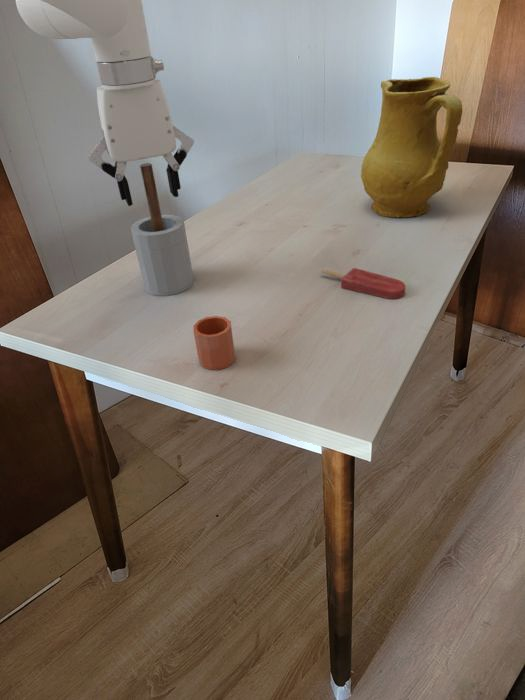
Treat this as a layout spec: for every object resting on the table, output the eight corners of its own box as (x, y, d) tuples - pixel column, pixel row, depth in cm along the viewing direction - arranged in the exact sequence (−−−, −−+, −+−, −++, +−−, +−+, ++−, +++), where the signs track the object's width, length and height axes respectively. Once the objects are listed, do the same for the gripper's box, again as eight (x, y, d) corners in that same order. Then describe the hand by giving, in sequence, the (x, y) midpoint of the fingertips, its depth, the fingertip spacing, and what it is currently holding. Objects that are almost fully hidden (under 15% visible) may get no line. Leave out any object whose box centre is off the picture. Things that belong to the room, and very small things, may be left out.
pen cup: (192, 365, 72) (186, 332, 68) (210, 345, 75) (205, 313, 72) (224, 373, 70) (219, 339, 66) (241, 352, 73) (237, 319, 70)
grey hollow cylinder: (135, 291, 90) (120, 232, 84) (162, 269, 97) (150, 212, 90) (176, 299, 87) (164, 237, 81) (202, 275, 93) (193, 217, 87)
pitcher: (424, 187, 120) (436, 67, 105) (457, 221, 106) (477, 87, 90) (351, 198, 120) (352, 78, 104) (375, 233, 105) (380, 101, 89)
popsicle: (327, 260, 90) (410, 280, 83) (327, 269, 91) (409, 290, 84) (314, 271, 88) (398, 293, 80) (314, 280, 89) (397, 303, 81)
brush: (158, 282, 91) (133, 166, 80) (166, 276, 93) (143, 161, 81) (171, 284, 90) (147, 167, 79) (179, 278, 92) (157, 162, 80)
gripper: (181, 63, 78) (198, 182, 88) (61, 78, 73) (94, 202, 84) (193, 68, 72) (210, 195, 82) (64, 85, 68) (99, 217, 78)
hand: (152, 198), depth 83 cm, fingers open, 6 cm apart
